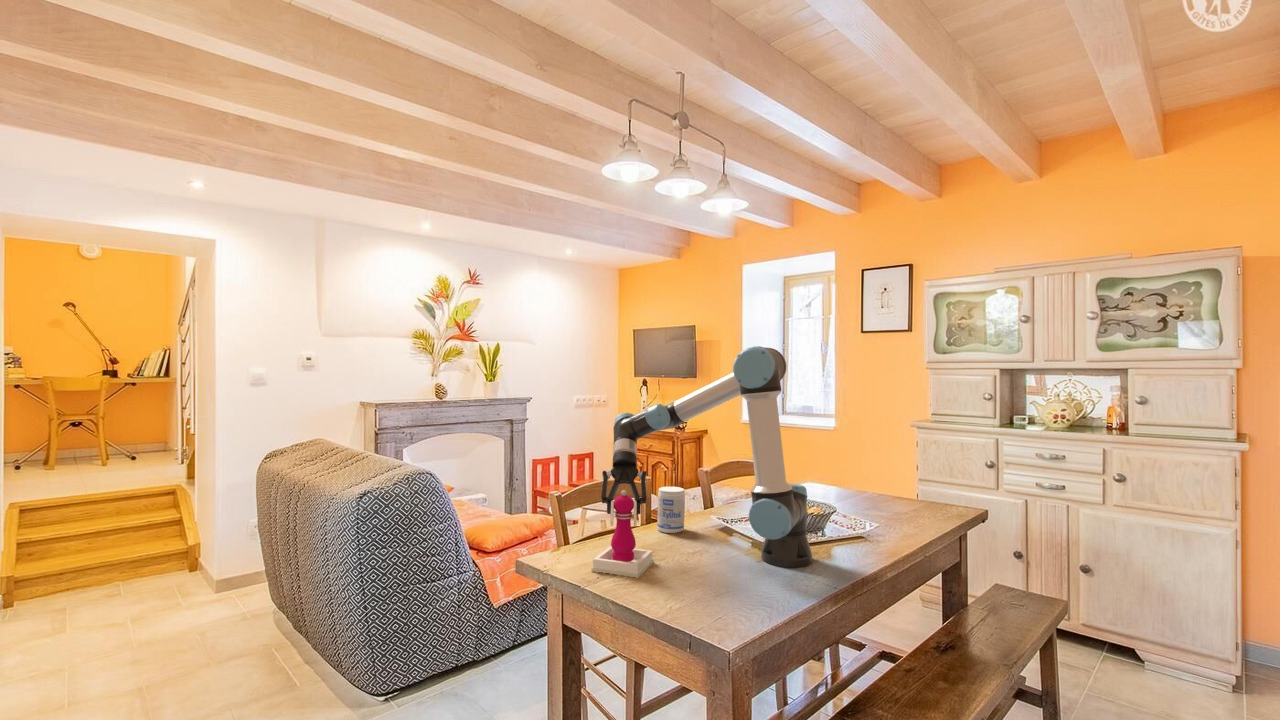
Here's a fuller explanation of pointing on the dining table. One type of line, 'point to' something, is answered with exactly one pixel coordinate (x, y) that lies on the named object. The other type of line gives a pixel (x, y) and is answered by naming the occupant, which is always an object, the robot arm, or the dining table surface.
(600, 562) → the ceramic tray
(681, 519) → the supplement tub
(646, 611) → the dining table surface
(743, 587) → the dining table surface
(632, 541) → the pepper mill
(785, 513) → the robot arm
